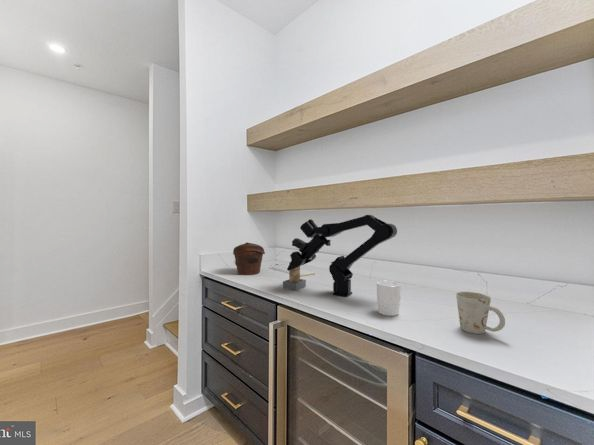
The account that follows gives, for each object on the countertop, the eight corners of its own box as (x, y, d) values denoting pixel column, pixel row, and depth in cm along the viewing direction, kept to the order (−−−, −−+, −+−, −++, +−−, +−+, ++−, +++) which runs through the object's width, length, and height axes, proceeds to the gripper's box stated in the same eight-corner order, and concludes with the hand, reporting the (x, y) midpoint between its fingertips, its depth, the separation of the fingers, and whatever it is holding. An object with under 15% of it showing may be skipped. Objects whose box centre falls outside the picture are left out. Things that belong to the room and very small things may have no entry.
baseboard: (298, 278, 150) (314, 275, 158) (298, 272, 150) (314, 270, 157) (268, 269, 175) (284, 267, 182) (268, 265, 175) (284, 263, 182)
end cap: (305, 286, 129) (305, 279, 129) (296, 290, 122) (296, 283, 122) (293, 284, 133) (293, 277, 133) (282, 288, 126) (282, 281, 126)
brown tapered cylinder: (249, 268, 175) (249, 240, 174) (271, 272, 162) (271, 242, 161) (225, 273, 161) (225, 242, 161) (247, 278, 148) (247, 244, 148)
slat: (299, 285, 129) (300, 261, 128) (295, 287, 125) (295, 262, 125) (294, 284, 130) (294, 261, 130) (289, 286, 126) (289, 262, 126)
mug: (466, 322, 85) (466, 290, 85) (513, 338, 74) (514, 301, 74) (449, 327, 81) (450, 293, 81) (497, 344, 70) (497, 305, 70)
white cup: (378, 316, 91) (378, 285, 91) (374, 308, 98) (375, 280, 98) (403, 317, 90) (403, 286, 89) (397, 309, 97) (398, 281, 97)
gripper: (309, 231, 134) (289, 253, 139) (294, 233, 117) (271, 257, 121) (325, 248, 131) (303, 269, 136) (312, 252, 114) (287, 277, 119)
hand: (291, 268), depth 128 cm, fingers open, 9 cm apart
